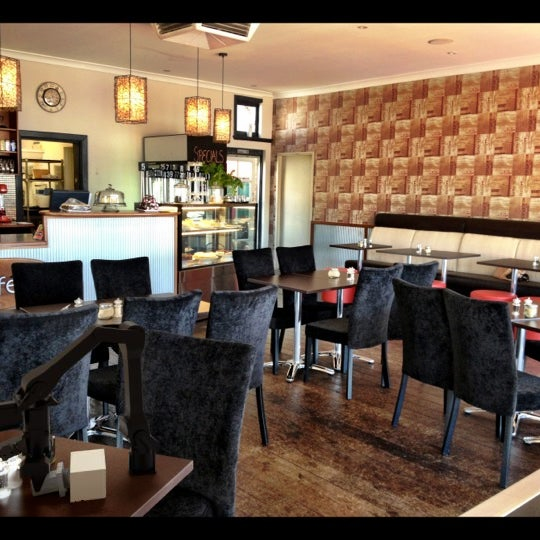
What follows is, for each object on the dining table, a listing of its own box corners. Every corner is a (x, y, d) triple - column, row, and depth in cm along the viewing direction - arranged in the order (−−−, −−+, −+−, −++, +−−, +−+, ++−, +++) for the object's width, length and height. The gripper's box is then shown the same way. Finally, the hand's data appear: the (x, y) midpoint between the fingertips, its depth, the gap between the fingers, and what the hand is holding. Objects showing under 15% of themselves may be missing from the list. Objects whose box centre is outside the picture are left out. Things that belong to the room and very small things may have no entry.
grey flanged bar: (91, 478, 145) (87, 456, 145) (91, 489, 140) (87, 466, 139) (36, 491, 142) (31, 468, 141) (33, 503, 136) (28, 479, 135)
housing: (104, 475, 149) (103, 448, 149) (105, 497, 138) (105, 468, 137) (71, 479, 147) (71, 452, 146) (70, 502, 136) (70, 472, 135)
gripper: (4, 414, 144) (6, 475, 145) (-6, 444, 126) (-5, 512, 128) (52, 411, 147) (53, 469, 149) (48, 438, 130) (49, 505, 131)
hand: (38, 487), depth 139 cm, fingers closed on grey flanged bar, 4 cm apart
